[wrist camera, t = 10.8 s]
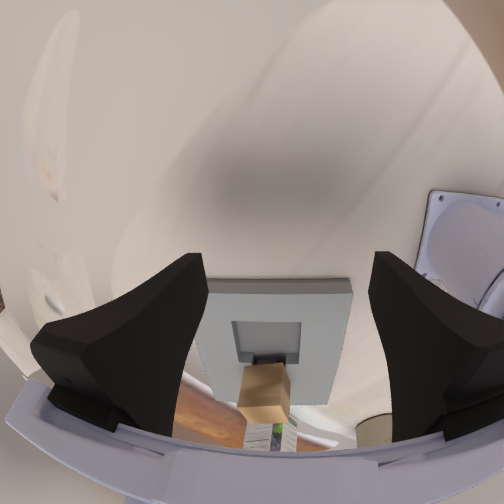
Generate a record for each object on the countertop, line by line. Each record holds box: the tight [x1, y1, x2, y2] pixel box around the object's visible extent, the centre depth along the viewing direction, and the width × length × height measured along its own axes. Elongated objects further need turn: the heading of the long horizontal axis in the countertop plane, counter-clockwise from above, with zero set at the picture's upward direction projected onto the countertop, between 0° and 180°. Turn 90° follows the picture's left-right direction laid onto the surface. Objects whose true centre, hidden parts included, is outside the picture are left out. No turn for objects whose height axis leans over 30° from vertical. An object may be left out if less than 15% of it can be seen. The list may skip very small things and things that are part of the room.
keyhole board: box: [194, 279, 353, 405], centre depth 26 cm, size 14×18×2 cm
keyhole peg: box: [237, 357, 291, 424], centre depth 25 cm, size 4×4×6 cm
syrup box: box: [243, 414, 298, 452], centre depth 29 cm, size 6×6×14 cm
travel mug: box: [356, 414, 392, 448], centre depth 28 cm, size 8×8×18 cm
